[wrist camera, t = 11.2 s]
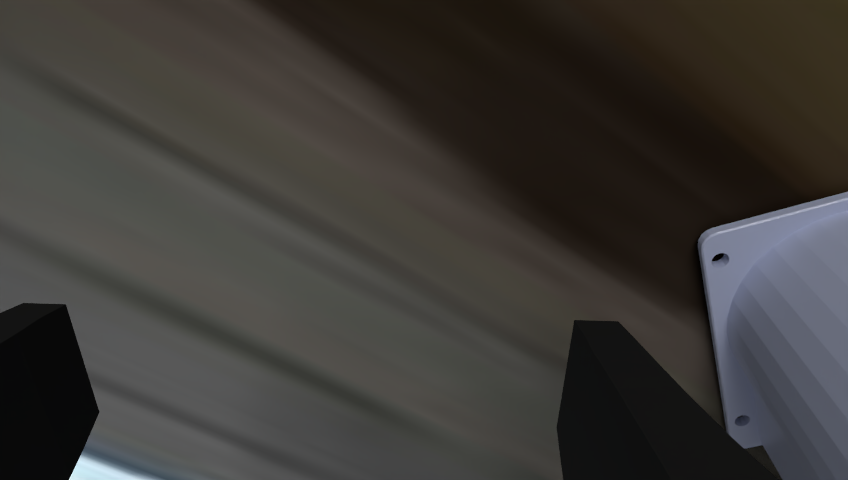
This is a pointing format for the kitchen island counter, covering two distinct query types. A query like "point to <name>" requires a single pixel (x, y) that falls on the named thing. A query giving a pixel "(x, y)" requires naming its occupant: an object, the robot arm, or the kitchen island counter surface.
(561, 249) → the kitchen island counter surface
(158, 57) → the kitchen island counter surface
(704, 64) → the kitchen island counter surface
